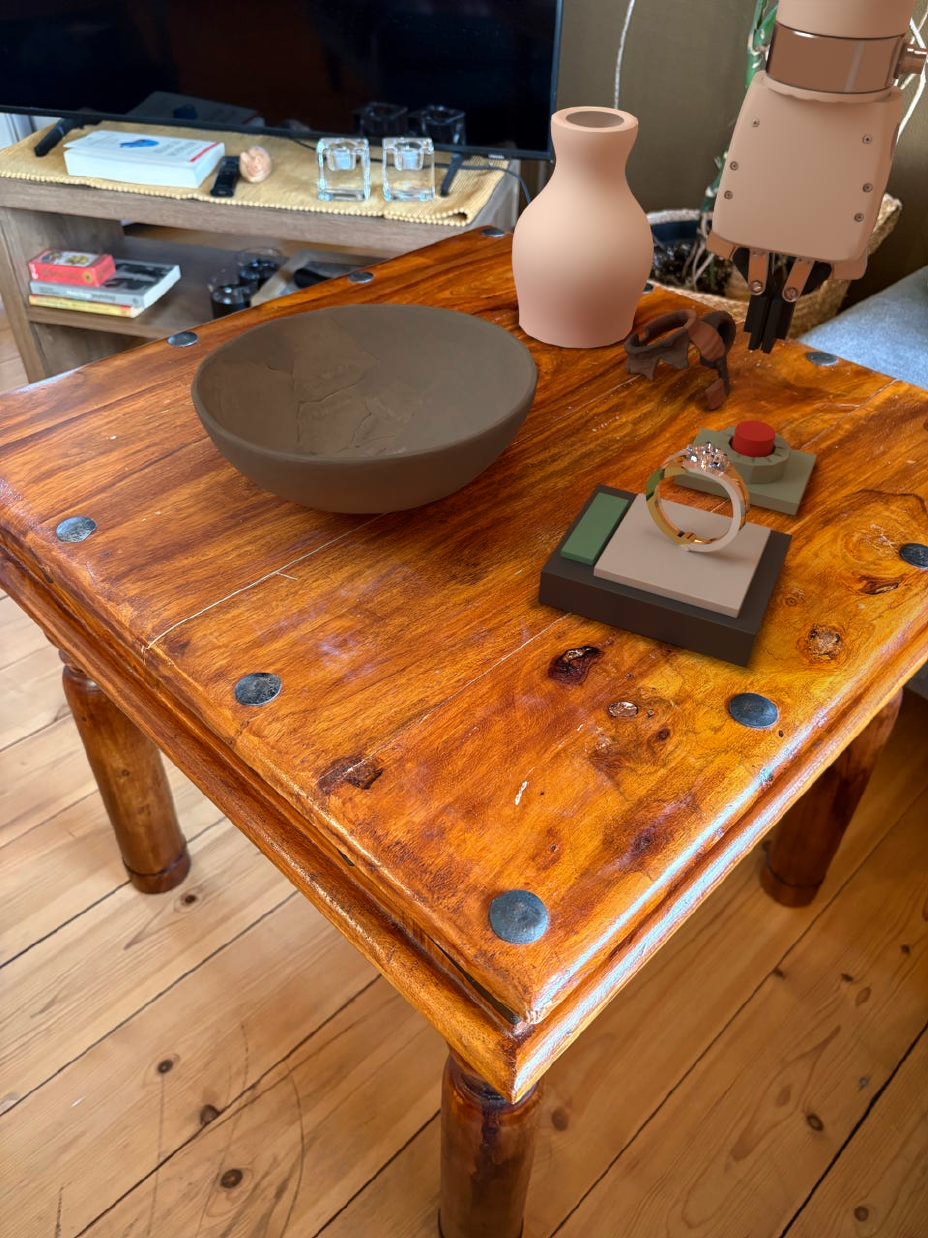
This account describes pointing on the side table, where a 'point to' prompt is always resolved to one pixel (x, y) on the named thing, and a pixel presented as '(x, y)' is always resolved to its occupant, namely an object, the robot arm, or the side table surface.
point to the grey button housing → (757, 472)
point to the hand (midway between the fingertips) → (762, 343)
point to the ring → (708, 465)
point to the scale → (665, 574)
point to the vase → (583, 236)
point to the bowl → (366, 403)
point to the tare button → (753, 439)
